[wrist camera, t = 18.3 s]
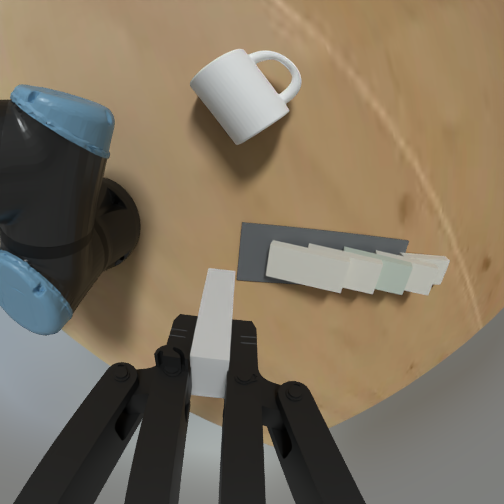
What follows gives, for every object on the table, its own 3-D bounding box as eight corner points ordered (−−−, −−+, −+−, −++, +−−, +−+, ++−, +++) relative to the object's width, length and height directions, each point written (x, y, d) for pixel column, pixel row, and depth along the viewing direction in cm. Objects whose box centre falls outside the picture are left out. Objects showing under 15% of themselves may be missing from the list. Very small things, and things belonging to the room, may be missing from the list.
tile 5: (395, 283, 46) (440, 284, 47) (404, 257, 43) (449, 260, 44) (390, 278, 47) (435, 279, 48) (399, 252, 45) (445, 256, 46)
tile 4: (368, 282, 45) (427, 295, 43) (376, 254, 43) (438, 269, 40) (367, 277, 47) (425, 290, 44) (375, 250, 44) (436, 264, 42)
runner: (236, 278, 47) (236, 279, 47) (242, 222, 42) (242, 223, 42) (391, 288, 49) (391, 289, 48) (408, 240, 44) (408, 241, 44)
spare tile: (336, 280, 45) (402, 295, 42) (344, 250, 43) (412, 267, 40) (336, 274, 47) (400, 289, 44) (344, 246, 44) (410, 262, 41)
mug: (237, 143, 37) (235, 149, 30) (195, 88, 33) (182, 81, 26) (309, 97, 34) (324, 93, 27) (267, 41, 30) (272, 24, 23)
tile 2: (301, 278, 45) (372, 294, 42) (307, 247, 42) (383, 265, 40) (303, 272, 46) (371, 288, 44) (309, 243, 44) (381, 259, 41)
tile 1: (265, 275, 44) (340, 293, 42) (270, 244, 42) (349, 262, 39) (268, 270, 46) (340, 287, 43) (273, 240, 43) (349, 257, 41)
